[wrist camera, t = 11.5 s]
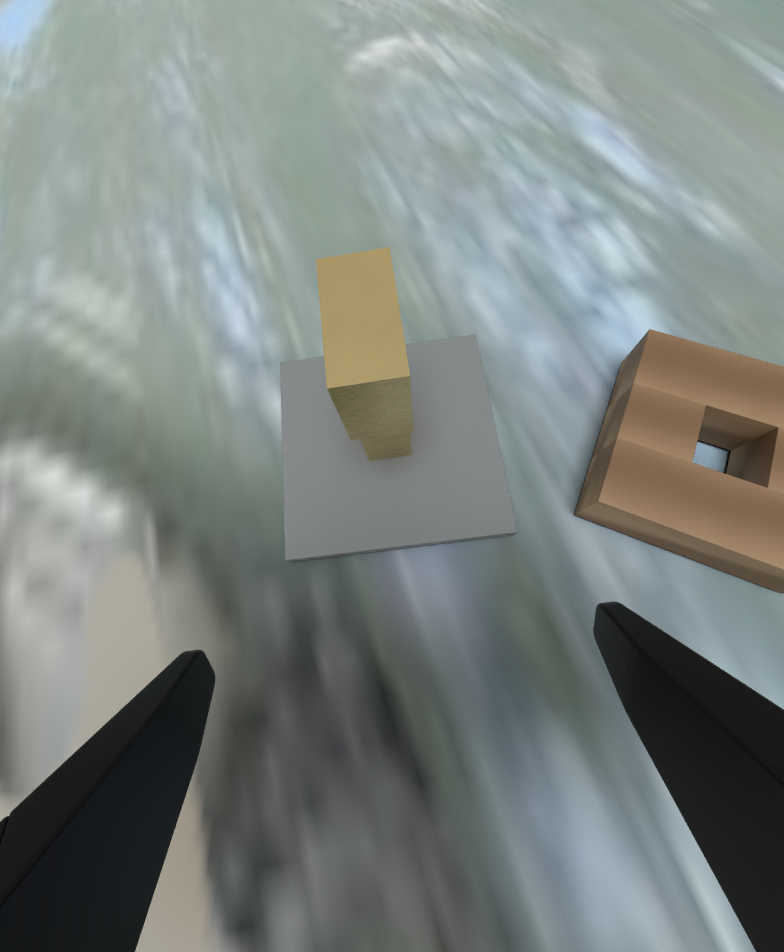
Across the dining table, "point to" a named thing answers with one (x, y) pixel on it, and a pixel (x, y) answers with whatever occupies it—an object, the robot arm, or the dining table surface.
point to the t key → (366, 351)
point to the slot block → (672, 450)
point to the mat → (394, 462)
